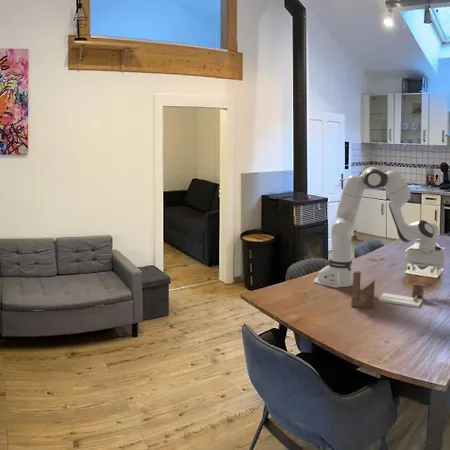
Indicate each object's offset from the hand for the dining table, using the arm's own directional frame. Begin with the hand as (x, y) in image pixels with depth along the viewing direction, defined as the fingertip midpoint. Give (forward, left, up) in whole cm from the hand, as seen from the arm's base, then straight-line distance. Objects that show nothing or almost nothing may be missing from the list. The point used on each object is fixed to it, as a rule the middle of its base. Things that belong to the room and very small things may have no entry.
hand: (422, 271), depth 278 cm
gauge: (0, -14, -13) cm, 19 cm away
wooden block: (-22, -36, -13) cm, 44 cm away
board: (-7, -18, -13) cm, 23 cm away
